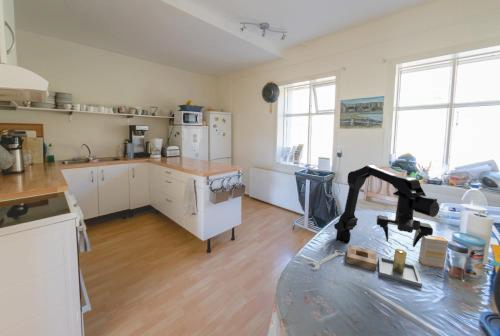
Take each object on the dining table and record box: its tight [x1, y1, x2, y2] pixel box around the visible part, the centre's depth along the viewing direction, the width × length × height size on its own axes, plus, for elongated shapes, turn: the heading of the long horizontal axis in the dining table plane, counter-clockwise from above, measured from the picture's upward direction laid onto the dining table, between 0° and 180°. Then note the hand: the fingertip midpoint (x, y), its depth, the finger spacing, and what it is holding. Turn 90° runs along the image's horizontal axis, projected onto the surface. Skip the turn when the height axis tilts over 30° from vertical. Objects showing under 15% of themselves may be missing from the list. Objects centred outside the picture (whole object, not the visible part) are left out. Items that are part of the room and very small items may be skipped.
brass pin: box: [392, 248, 407, 274], centre depth 93 cm, size 4×4×9 cm
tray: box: [377, 255, 423, 289], centre depth 93 cm, size 14×14×2 cm
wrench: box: [307, 249, 346, 271], centre depth 102 cm, size 25×2×5 cm
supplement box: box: [418, 234, 449, 269], centre depth 100 cm, size 8×5×13 cm, turn 71°
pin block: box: [345, 244, 378, 271], centre depth 102 cm, size 12×12×3 cm
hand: (399, 243), depth 92 cm, fingers open, 9 cm apart
